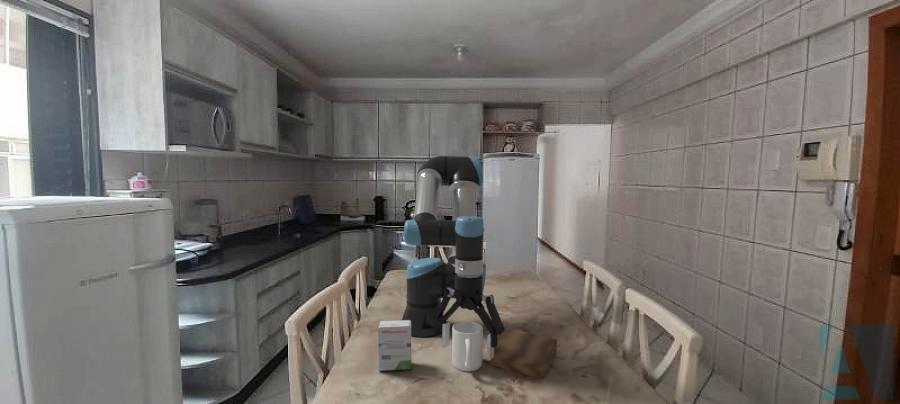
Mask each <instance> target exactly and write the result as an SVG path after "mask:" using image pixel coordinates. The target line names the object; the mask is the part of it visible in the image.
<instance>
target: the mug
mask: <svg viewBox="0 0 900 404" xmlns="http://www.w3.org/2000/svg"><path fill="white" fill-rule="evenodd" d="M451 329H452V330H451V332H452V335H451V337H452V338H451V339H452V341H451V363H452V365H453V367H455V369H457V370H458V371H461V372H474V371H477V370H479V369H480V368H481V367H482V365H483V354H484V353H483V349H484V348H483V347H484V345H483V344H484V326H483V325H482V324H481V323H478V322H475V321H466V320H465V321H459V322H456V323H454V324H452V328H451Z"/></svg>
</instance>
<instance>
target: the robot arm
mask: <svg viewBox="0 0 900 404" xmlns="http://www.w3.org/2000/svg"><path fill="white" fill-rule="evenodd" d="M483 176H484V175H483V167H482V162H481V160H480V158H479V157H477V156H470V155H466V156H465V155H463V156H459V155H456V156H455V155H438V156H434V157H431V158H430V159H428V160H426V161H425V162H424V163H423V164H422V165H421V166H420V167H419V169H418V170H417V172H416V176H415V177H416V178H415V183H416V185H417V189H416V196H415V197H416V198H415V204H414V212H413V218H412V219H407V220H405V221H404V228H403V229H404V230H403V236H404V237H403V239H404V243H405V244H406V245H408V246H417V247H423V246H424V247H426V246H428V247H429V246H430V247H431V246H433V247H434V246H435V247H438V246H439V247H441V246H442V247H451V249H452V250H451V252H452V253H451V254H450V255H449V256H448V257H447V262H443V260H442V259H441V257H440V258H439V257H425V258H420V259H416V260H412V261H411V262H410V263H408V265H407V269H406V276H405V278H406V305H405V308H404V309H405V310H404V312H403V316H402V318H401V320H411V337H419V338H420V337H421V338H422V337H423V338H425V337H433V336H437V335H440V334H441V335H442V338H441V339H442V340H441V341H442V342H441V344H442V346H441V347H442V348H444V349H445V348H447V346H449V345H450V341H451V340H450V331H451V329H450V328H451V327H450V326H451V324H450V323H451V321H449V318H450V317H451V316H452V315H453V314H454V313H455V312H456V311H457V310H458V308H460V309H463V310H466V309H467V310H469V311H474V313H475V314H477V316H478V317H479V319H480V320H481V322H482V323H483V325H484V326H485V328H486V329H487V331H488V332H489V334H488V335H487V343H486V344H487V347H486V348H487V349H486V352H487V353H486V360H487V361H488V360H489V361H490V360H491V359H492V358H493V357H494V348H495V347H496V346H497V338H498V337H499V336H500V335H501V334H502V333H503V332H504V331H505V330H506V329H505V326H504V324H503V321H502V318H501V317H500V314H499V311H498V310H497V307H496V304H495V298H494V295H493V294H489V295H484V289H485V284H486V283H485V282H486V277H487V264H486V263H484V235H485V234H484V232H485V228H484V227H485V226H484V219H483V218H482V217H481V216H477V214H476V211H477V210H476V209H477V208H476V193H477V192H478V191H479V190H480V187H482V186H483V183H484V177H483ZM441 186H444V187H448V191H449V192H450V193H451V194H452V198H451V199H452V203H451V204H452V210H451V211H452V219H451V220H448V219H447V220H443V219H441V220H439V219H438V215H439V214H438V213H439V212H438V211H439V191H440V190H439V189H440V188H441ZM451 299H455V301H454V303H453V304H452V305H451V307H450V308H449V309H447V311H446V308H447V307H448V304H449V303H450V301H451ZM482 302H484V304H483V303H482ZM485 305H486V309H487V311H488V312H487V311H486V309H485ZM445 311H446V312H445ZM488 313H489V314H488Z"/></svg>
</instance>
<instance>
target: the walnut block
mask: <svg viewBox="0 0 900 404" xmlns="http://www.w3.org/2000/svg"><path fill="white" fill-rule="evenodd" d="M557 343H558V339H557V338H553V337H548V336H545V335H540V334H536V333H532V332H528V331H523V330H518V329H514V328H510V327H507V328H506V329H505V331H504V332H503V333H502V334H501V335H498V337H497V346H496V347H495V348H494V357H493V358H492V359H491V360H490V361H489V360H487V364H488V365H493V366H496V367H498V368H499V367H500V368H503V369H505V370H509V371H512V372H516V373H518V374H519V373H521V374H523V375H526V376H528V377H529V376H530V377H533V378H536V379H539V380H543V379H544V376H545V375H546V373H547V372H548V369H549V368H550V366H551V365H552V363H553V362H554V360H555V358H556V356H557V347H558V345H557Z"/></svg>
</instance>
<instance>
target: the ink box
mask: <svg viewBox="0 0 900 404" xmlns="http://www.w3.org/2000/svg"><path fill="white" fill-rule="evenodd" d="M377 333H378V335H377V336H378V339H377V340H378V342H377V343H378V352H377V353H378V371H381V372H382V371H401V370H402V371H403V370H404V371H405V370H412V336H411V320H402V319H401V320H380V321H379V323H378V330H377Z"/></svg>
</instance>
